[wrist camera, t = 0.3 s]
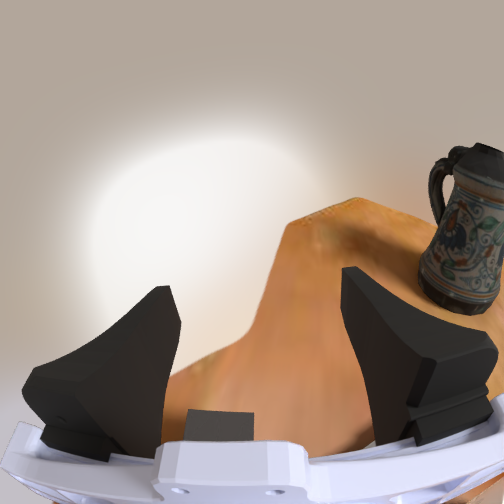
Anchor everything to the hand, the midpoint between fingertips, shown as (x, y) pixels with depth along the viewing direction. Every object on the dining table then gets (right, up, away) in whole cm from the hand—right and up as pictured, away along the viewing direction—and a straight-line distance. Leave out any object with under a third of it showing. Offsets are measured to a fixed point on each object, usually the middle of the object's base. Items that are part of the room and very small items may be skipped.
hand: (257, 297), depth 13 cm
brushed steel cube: (-3, -18, +11) cm, 21 cm away
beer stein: (+35, -4, +34) cm, 49 cm away
